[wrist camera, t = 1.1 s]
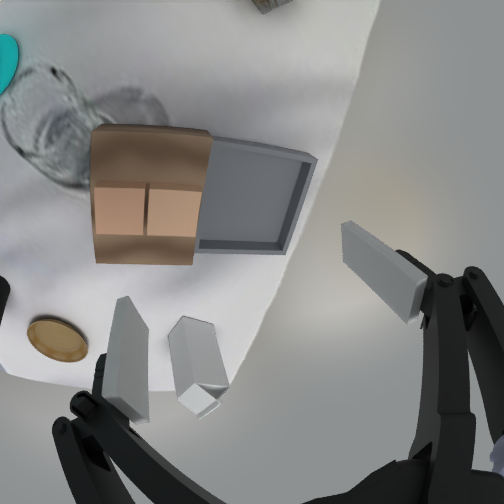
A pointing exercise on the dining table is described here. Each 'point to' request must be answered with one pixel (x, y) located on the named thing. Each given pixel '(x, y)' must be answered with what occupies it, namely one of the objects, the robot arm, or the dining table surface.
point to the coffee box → (269, 4)
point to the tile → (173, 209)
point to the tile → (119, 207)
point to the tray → (251, 197)
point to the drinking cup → (3, 295)
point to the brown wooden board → (147, 184)
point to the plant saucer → (57, 340)
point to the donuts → (7, 60)
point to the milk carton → (197, 366)
